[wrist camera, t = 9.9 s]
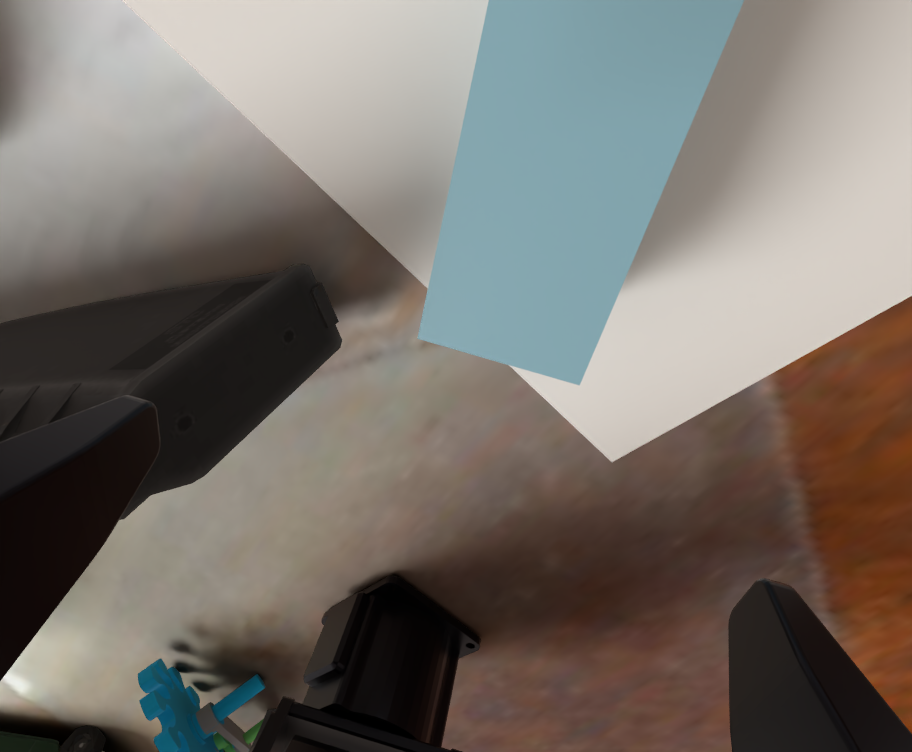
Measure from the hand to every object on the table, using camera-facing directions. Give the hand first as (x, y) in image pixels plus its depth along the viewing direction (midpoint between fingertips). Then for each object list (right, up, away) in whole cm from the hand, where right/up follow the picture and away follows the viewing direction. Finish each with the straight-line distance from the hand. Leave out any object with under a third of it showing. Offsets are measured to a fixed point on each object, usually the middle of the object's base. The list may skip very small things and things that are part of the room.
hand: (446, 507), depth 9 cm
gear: (-15, -18, +32) cm, 40 cm away
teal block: (+2, +3, +9) cm, 10 cm away
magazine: (-18, +3, +18) cm, 26 cm away
